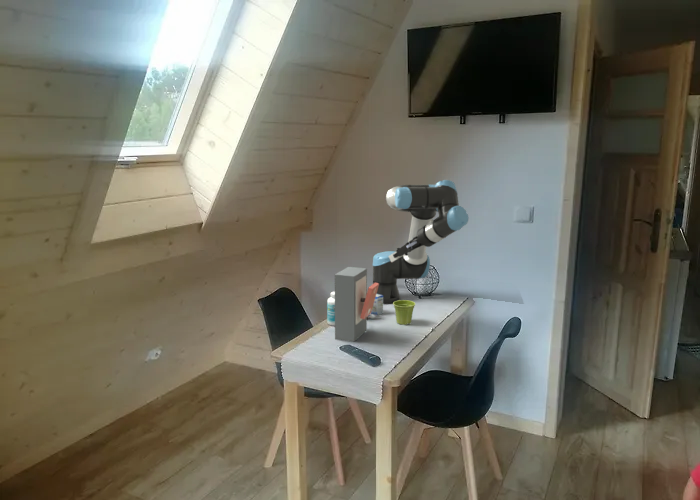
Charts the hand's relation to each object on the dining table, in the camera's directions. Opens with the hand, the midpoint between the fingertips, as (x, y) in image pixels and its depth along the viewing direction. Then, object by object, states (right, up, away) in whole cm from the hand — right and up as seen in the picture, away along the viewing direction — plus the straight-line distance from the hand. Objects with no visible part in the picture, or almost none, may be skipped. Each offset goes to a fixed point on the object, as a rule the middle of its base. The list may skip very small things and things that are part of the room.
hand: (391, 258), depth 214 cm
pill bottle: (-22, -28, +17) cm, 40 cm away
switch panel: (-15, -31, +4) cm, 34 cm away
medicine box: (-6, -25, +32) cm, 41 cm away
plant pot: (+7, -28, +19) cm, 34 cm away
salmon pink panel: (-10, -22, 0) cm, 24 cm away
